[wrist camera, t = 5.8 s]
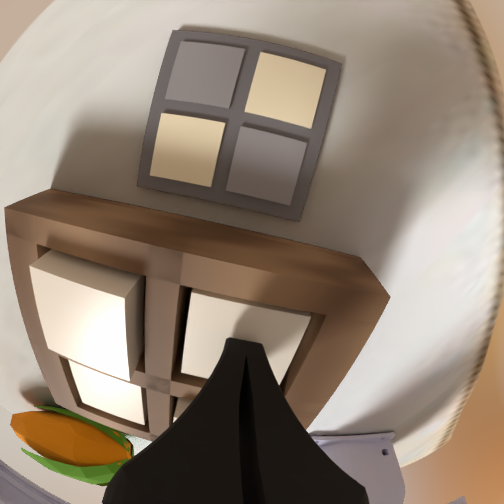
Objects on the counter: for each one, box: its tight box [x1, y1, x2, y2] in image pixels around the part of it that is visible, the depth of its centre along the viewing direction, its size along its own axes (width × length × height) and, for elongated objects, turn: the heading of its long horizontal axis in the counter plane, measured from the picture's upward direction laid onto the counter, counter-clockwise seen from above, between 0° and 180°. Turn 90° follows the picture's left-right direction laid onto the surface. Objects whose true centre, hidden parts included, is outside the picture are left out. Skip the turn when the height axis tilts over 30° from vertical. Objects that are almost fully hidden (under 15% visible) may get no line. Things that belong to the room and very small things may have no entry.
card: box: [137, 30, 342, 222], centre depth 10 cm, size 7×7×1 cm
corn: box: [10, 405, 134, 486], centre depth 17 cm, size 7×8×20 cm
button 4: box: [29, 249, 145, 381], centre depth 10 cm, size 4×4×2 cm
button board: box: [4, 189, 390, 441], centre depth 13 cm, size 16×14×4 cm
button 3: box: [68, 360, 148, 425], centre depth 13 cm, size 4×4×2 cm
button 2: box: [181, 288, 311, 385], centre depth 11 cm, size 4×4×2 cm
